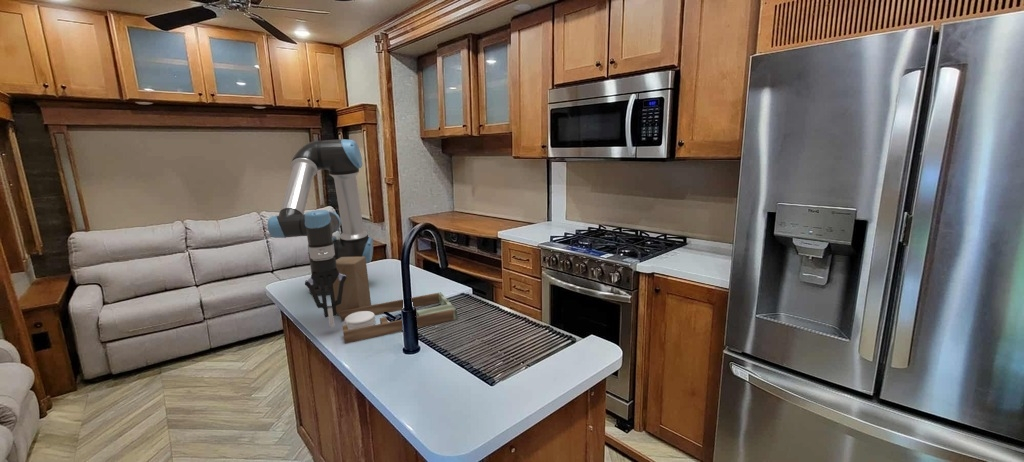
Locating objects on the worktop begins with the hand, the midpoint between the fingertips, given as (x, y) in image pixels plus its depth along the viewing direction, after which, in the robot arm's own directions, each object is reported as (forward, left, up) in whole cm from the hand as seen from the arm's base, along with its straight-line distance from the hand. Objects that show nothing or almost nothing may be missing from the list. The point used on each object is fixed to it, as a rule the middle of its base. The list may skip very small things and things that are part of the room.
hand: (332, 325), depth 144 cm
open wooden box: (+2, +21, -2) cm, 21 cm away
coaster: (-1, +9, -3) cm, 10 cm away
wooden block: (-17, +8, -3) cm, 19 cm away
